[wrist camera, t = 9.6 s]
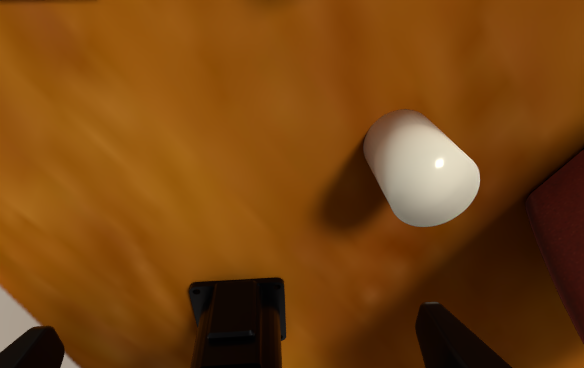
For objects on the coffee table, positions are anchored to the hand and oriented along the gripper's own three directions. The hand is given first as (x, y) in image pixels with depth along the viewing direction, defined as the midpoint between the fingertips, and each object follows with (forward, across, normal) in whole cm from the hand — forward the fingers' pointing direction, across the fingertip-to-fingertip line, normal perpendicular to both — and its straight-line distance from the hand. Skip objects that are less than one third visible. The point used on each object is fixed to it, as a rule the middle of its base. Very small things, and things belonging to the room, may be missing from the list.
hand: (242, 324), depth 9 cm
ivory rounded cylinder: (+12, -8, +1) cm, 14 cm away
